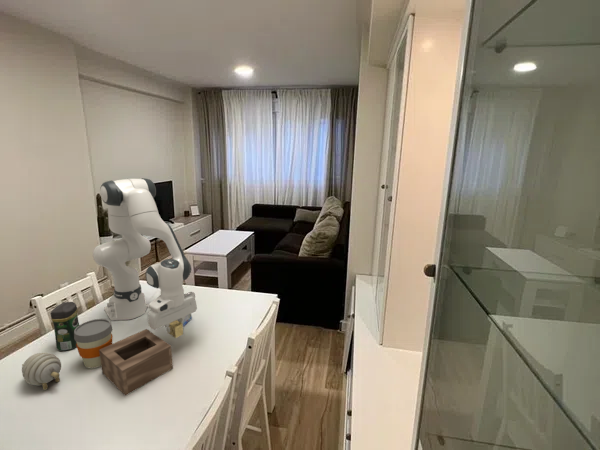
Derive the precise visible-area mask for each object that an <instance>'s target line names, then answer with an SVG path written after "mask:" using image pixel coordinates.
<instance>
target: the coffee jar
mask: <svg viewBox="0 0 600 450" xmlns="http://www.w3.org/2000/svg"><path fill="white" fill-rule="evenodd" d="M78 315H79V314H78V308H77V304H76V302H74V301H63V302H62V303H60V304H58V305H57V306H55V308H53V309H52V310H51V311H50V319H51V321H52V325H53V329H54V335H55V336H54V337H55V345H56V350H57V351H60V352H61V351H62V352H63V351H64V352H65V351H70V350H73V349H75V348H77V346H76V344H77V342H76V341H75V339H74V330H75V329H76V327H78V326H79V325H80V321H79V316H78Z"/></svg>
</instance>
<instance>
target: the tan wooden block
mask: <svg viewBox="0 0 600 450" xmlns="http://www.w3.org/2000/svg"><path fill="white" fill-rule="evenodd" d="M169 326H170V327H172V332H169V333H168V334H169V335H170V336H172V337H173V338H175V339H177V338H179V337H180V336H183V335H184V327H183V324H182V323H181V322H179V321H177V320H176V321H174V322H171V323H169Z"/></svg>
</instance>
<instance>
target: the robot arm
mask: <svg viewBox="0 0 600 450" xmlns="http://www.w3.org/2000/svg"><path fill="white" fill-rule="evenodd" d="M155 185H156V184H155V183H154V181H153V180H152V179H148V178H124V179H117V180H107V181H104V182H102V184H101V186H100V189H99V193H100V195H99V196H100V197H101V200H102V202H103V203H104V204H106V205H107V215H108V217H107V218H108V228H109V230H110V231H111V232H112V233H114V234H116V235H120V236H121V239H117V240H112V241H111V240H110V241H107V242H104V243H101V244H99V245H96V246H95V247H94V249H93V251H92V257H93V260H94V262H95V263H96V264H97V265H98V266H100V267H104V268H105V269H106V270H108V271H109V273H110V275H111V276H112V279H113V284H114V287H113V295H112V296H110V297H109V299H108V302H107V303H106V306H105V307H104V311H105V313H106V315H107V317H108V318H109V321H127V320H133V319H136V318H139V317H141V316H143V315H144V314H145V313H146V311H147V309H148V308H149V311H148V314H147V315H148V316H147V318H148V321H147V322H148V327H149V328H151V329H152V330H157V329H160V328H162V327H165V328H166V331H167V334H169V332H172V327H170V326H169V323H171V322H174V321H176V320H178V319H180V320H179V322H181V323H182V324H183V321H184V319H185V316H187V315H189V314H191V315H192V314H193V313H195V312H197V309H198V307H197V300H196V294H195V292H193V291H189V292H186V293H185V290H184V287H183V283H184V281H185V280H187V279H188V278H189V277H190V275H191V273H192V265H191V263H190V261H189V260H188V258H187V257H186V255H185V253H184V251H183V248H182V246H181V245H180V242H179V240H178V239H177V238H178V237H177V236H176V234H175V232H174V230H173V228H172V227H171V225H170V224H169V223H166V222H165V221H164V220H163V219H162V218H161V215H160V214H159V210H158V207H157V203H156V201H155V197H156V195H157V188H156V186H155ZM148 237H150V238H151V237H152V238H157V239H159V240H161V241H163V242H164V243H165V246H166V247H167V250H168V251H169V254H170V256H171V258H169V259H168V258H166V259H164V260H162V261H160V262H158V263H154V264H151V265H149V266H148V267H147V269H146V270H145V282H146V283H147V285H148V286H150V287H152V288H155V289H160V294H159V295H158V297H156V298H155V299H154V300H152V301H150V302H149V303H147V302H146V298H145V297H146V296H145V293H144V292H142V286H141V284H140V274H139V271H138V270H137V268H136V267H133V266H128V265H126V262H129V261H132V260H137V259H140V258H143V257H145V256H148V255H149V253H150V252H151V248H152V245H151V241H150V240H149V239H148Z"/></svg>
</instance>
